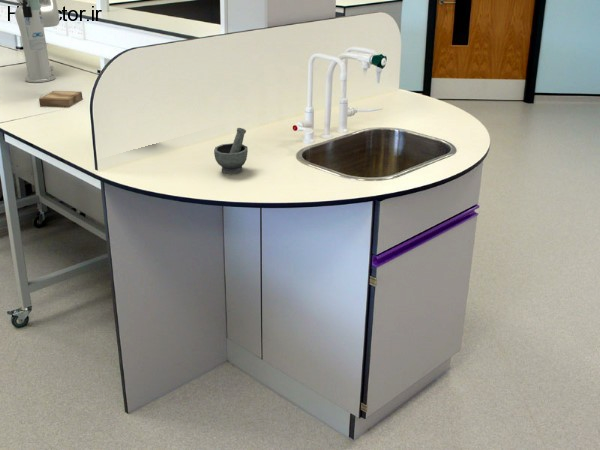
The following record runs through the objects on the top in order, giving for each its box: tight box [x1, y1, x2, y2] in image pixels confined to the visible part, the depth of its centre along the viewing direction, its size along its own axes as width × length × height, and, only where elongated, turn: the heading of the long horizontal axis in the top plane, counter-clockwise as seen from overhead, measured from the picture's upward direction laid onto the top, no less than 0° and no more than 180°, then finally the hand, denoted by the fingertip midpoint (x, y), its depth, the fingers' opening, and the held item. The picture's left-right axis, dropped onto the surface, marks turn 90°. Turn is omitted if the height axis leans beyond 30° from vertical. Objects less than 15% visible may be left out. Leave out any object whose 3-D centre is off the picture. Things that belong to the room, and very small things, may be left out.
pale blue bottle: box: [24, 0, 47, 50], centre depth 276 cm, size 6×6×20 cm
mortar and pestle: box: [213, 127, 249, 176], centre depth 207 cm, size 11×9×12 cm
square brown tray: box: [38, 90, 84, 108], centre depth 278 cm, size 12×12×3 cm
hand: (32, 15), depth 275 cm, fingers closed on pale blue bottle, 6 cm apart
